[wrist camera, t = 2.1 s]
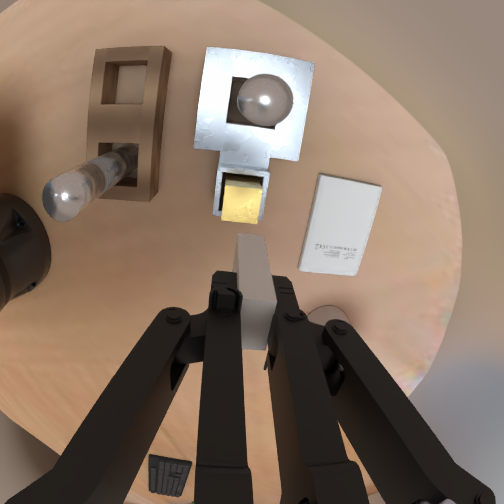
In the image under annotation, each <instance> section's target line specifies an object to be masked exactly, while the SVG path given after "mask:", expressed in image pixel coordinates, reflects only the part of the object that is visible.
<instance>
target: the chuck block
mask: <svg viewBox="0 0 504 504" xmlns="http://www.w3.org/2000/svg"><path fill="white" fill-rule="evenodd" d="M314 65H315V63H313V62H308V61H304V60H299V59H294V58H289V57H284V56H278V55H272V54H266V53H259V52H252V51H244V50H236V49H226V48H215V47H207V51H206V57H205V64H204V70H203V77H202V84H201V91H200V98H199V106H198V114H197V122H196V131H195V139H194V149H205V150H216V151H220V159H219V164H218V171H217V179H216V188H215V197H214V207H213V215H216V216H222V208H223V199H224V197H220V194H221V185H222V177H223V172H228V173H237V174H246V175H254V176H259V177H258V178H259V181H260V184H261V187H262V196H261V203H260V209H259V215H258V220H261V221H262V218H263V212H264V206H265V200H266V194H267V188H268V182H269V176H270V172H269V170H268V165H269V159H270V157H272V158H279V159H285V160H292V161H298V159H299V153H300V148H301V142H302V137H303V131H304V125H305V119H306V114H307V108H308V102H309V96H310V90H311V84H312V77H313V71H314ZM258 74H273V75H276V76H278V77H280V78H282V79H283V80H284V81H285V82H286V83H287V84H288V85H289V87H290V88H291V90H292V93H293V100H294V101H293V107H292V110H291V112H290V114H289V115H288V117H287V118H286V119H284V120H283V121H282V122H280V123H278V124H276V125H272V126H260V125H255V124H247V123H239V122H231V121H227V117H228V110H229V103H230V96H231V89H232V82H233V81H239V82H246V81H247V80H248V79H249V78H251V77H253V76H255V75H258Z"/></svg>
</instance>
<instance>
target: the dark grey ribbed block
mask: <svg viewBox="0 0 504 504" xmlns="http://www.w3.org/2000/svg"><path fill="white" fill-rule="evenodd" d="M191 466H192V462H191V461H186V460H180V459H174V458H168V457H163V456H158V455H153V454H149V491H151V493H155V492H156V493H157V494H162V495H165V494H166V495H167V496H170V495H171V496H173V497H174V496H175V497H179V496H181V495H182V492H183V489H184V486H185V483H186V480H187V477H188V474H189V471H190V469H191Z"/></svg>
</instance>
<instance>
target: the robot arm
mask: <svg viewBox="0 0 504 504" xmlns="http://www.w3.org/2000/svg"><path fill="white" fill-rule="evenodd" d="M50 260H51V253H50V245H49V240H48V237H47V234H46V231H45V229H44V227H43V225H42V223H41V221H40V219H39V218H38V216H37V215H36V213H35V212H34V211H33V209H32V208H31V207H30V206H29V205H28V204H27V203H25V202H24V201H23V200H21V199H20V198H18V197H16V196H13V195H9V194H1V195H0V311H1V310H2V309H3V307H4V306H5V305H6V304H7V303H8V302H9V301H10V300H13V299H15V298H17V297H19V296H21V295H23V294H25V293H27V292H29V291H31V290H33V289H34V288H36V287H37V286H38V285H39V284H40V282H41V281H42V280H43V279H44V278H45V276H46V275H47V273H48V270H49V267H50ZM267 342H268V353H267V357H266V361H265V365H264V370H266V368H267V367H268V376H269V384H270V393H271V402H272V410H273V419H274V428H275V436H276V445H277V454H278V462H279V471H280V480H281V489H282V494H281V500H280V504H369V500H368V496H367V492H366V488H365V485H364V481H363V477H362V473H361V470H360V468H359V465H358V464H357V463H356V462H354V461H350V460H349V459H348V457H347V454H346V451H345V447H344V443H343V439H342V435H341V432H340V428H339V424H340V426H341V427H342V429H343V431H344V433H345V434H346V436H347V438H348V439H349V441H350V443H351V445H352V446H353V448H354V450H355V452H356V453H357V455H358V457H359V459H360V460H361V462H362V464H363V466H364V467H365V469H366V471H367V472H368V474H369V476H370V478H371V479H372V481H373V483H374V485H375V486H376V488H377V490H378V491H379V493H380V495H381V497H382V498H383V500H384V501H385V503H386V504H496V503H495V496H494V493H493V491H492V490H491V489H490V488H489V487H487V486H486V485H484V484H483V483H481V482H480V481H479V480H478V479H476V478H475V477H473V476H472V475H471V474H469V473H468V472H466V471H465V470H464V469H462V468H461V467H460V466H458V465H457V464H456V463H455V462H454V461H453V459H452V458H451V456H450V455H449V453H448V452H447V451H446V449H445V448H444V446H443V445H442V444H441V442H440V441H439V440H438V438H437V437H436V435H435V434H434V433H433V432H432V430H431V429H430V427H429V426H428V425H427V423H426V422H425V421H424V419H423V418H422V417H421V415H420V414H419V412H418V411H417V410H416V408H415V407H414V406H413V404H412V403H411V402H410V400H409V399H408V398H407V396H406V395H405V394H404V392H403V391H402V390H401V388H400V387H399V386H398V384H397V383H396V382H395V381H394V379H393V378H392V377H391V375H390V374H389V373H388V371H387V370H386V369H385V368H384V366H383V365H382V364H381V362H380V361H379V360H378V358H377V357H376V356H375V355H374V353H373V352H372V351H371V349H370V348H369V347H368V346H367V344H366V343H365V342H364V341H363V339H362V338H361V337H360V336H359V334H358V333H357V332H356V330H355V329H354V328H353V327H352V326H351V325H350V324H349V323H347V322H345V321H343V320H340V319H332V320H329V321H327V322H326V324H325V326H323V325H319V324H316V323H313V322H310V321H309V320H308V317H307V315H306V314H305V313H304V312H303V311H302V310H300V309H299V306H298V302H297V299H296V295H295V292H294V290H293V285H292V282H291V281H290V280H289V279H288V278H287V277H284V276H274V275H272V274H271V270H270V265H269V260H268V255H267V250H266V245H265V240H264V236H263V235H256V234H247V233H238V235H237V243H236V250H235V258H234V265H233V272H226V271H216V272H215V273H214V274H213V275H212V283H211V291H210V295H209V307H208V309H207V310H206V311H204V312H203V313H200V314H197V315H190V314H189V313H188V312H187V311H186V310H184V309H182V308H177V307H169V308H165V309H163V310H161V311H160V312H159V313H158V315H157V316H156V317H155V319H154V320H153V321H152V323H151V324H150V326H149V327H148V328H147V330H146V331H145V333H144V334H143V335H142V337H141V338H140V340H139V341H138V342H137V344H136V345H135V347H134V348H133V349H132V351H131V352H130V354H129V355H128V356H127V358H126V359H125V361H124V362H123V364H122V365H121V366H120V368H119V369H118V371H117V372H116V374H115V375H114V376H113V378H112V379H111V381H110V382H109V384H108V385H107V387H106V388H105V390H104V391H103V392H102V394H101V395H100V397H99V398H98V400H97V401H96V403H95V404H94V406H93V407H92V409H91V410H90V412H89V413H88V415H87V416H86V418H85V419H84V421H83V422H82V424H81V425H80V427H79V428H78V430H77V431H76V433H75V434H74V436H73V438H72V439H71V441H70V442H69V444H68V445H67V447H66V448H65V450H64V452H63V453H62V455H61V456H60V458H59V459H58V461H57V463H56V464H55V466H54V467H53V469H52V470H50V471H49V472H47V473H46V474H45V475H43V476H42V477H40V478H39V479H38V480H36V481H35V482H33V483H32V484H30V485H29V486H27V487H26V488H25V489H23V490H22V491H20V492H19V493H17V494H16V495H14V496H13V497H11V498H10V499H8V500H7V502H6V503H5V504H123V502H124V500H125V498H126V496H127V494H128V492H129V490H130V488H131V485H132V483H133V481H134V479H135V477H136V475H137V473H138V471H139V469H140V467H141V465H142V462H143V460H144V458H145V456H146V454H147V452H148V450H149V448H150V446H151V444H152V442H153V440H154V437H155V435H156V433H157V431H158V429H159V427H160V425H161V423H162V421H163V419H164V417H165V415H166V413H167V410H168V408H169V406H170V404H171V402H172V400H173V398H174V396H175V394H176V392H177V390H178V388H179V386H180V384H181V382H182V380H183V377H184V375H185V373H186V371H187V369H188V367H189V363H195V362H202V361H203V371H202V384H201V396H200V410H199V424H198V440H197V457H196V470H195V490H194V504H253V489H252V476H251V471H250V468H249V467H248V463H247V446H246V427H245V407H244V385H243V363H242V349H253V350H266V346H267ZM341 366H342V367H341ZM337 420H338V421H337ZM338 422H339V424H338Z"/></svg>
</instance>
